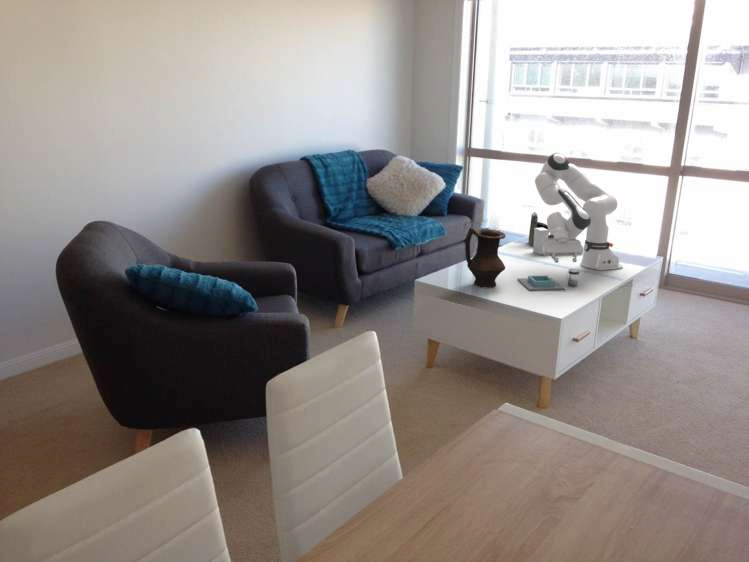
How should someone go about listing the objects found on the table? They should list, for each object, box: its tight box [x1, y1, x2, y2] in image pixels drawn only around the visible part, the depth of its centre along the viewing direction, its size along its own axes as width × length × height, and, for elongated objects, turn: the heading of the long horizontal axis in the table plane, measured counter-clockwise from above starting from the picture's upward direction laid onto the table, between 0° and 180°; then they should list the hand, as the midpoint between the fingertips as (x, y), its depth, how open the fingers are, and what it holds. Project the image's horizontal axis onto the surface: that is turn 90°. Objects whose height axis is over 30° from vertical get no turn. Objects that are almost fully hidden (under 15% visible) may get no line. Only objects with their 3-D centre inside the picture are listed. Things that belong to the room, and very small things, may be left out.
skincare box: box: [532, 228, 550, 255], centre depth 390 cm, size 8×6×15 cm
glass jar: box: [567, 268, 580, 288], centre depth 328 cm, size 5×5×8 cm
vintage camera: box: [528, 211, 548, 247], centre depth 409 cm, size 10×16×20 cm, turn 78°
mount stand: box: [517, 275, 566, 292], centre depth 329 cm, size 18×18×4 cm
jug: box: [464, 226, 506, 288], centre depth 325 cm, size 21×18×30 cm
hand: (565, 261), depth 330 cm, fingers open, 8 cm apart
